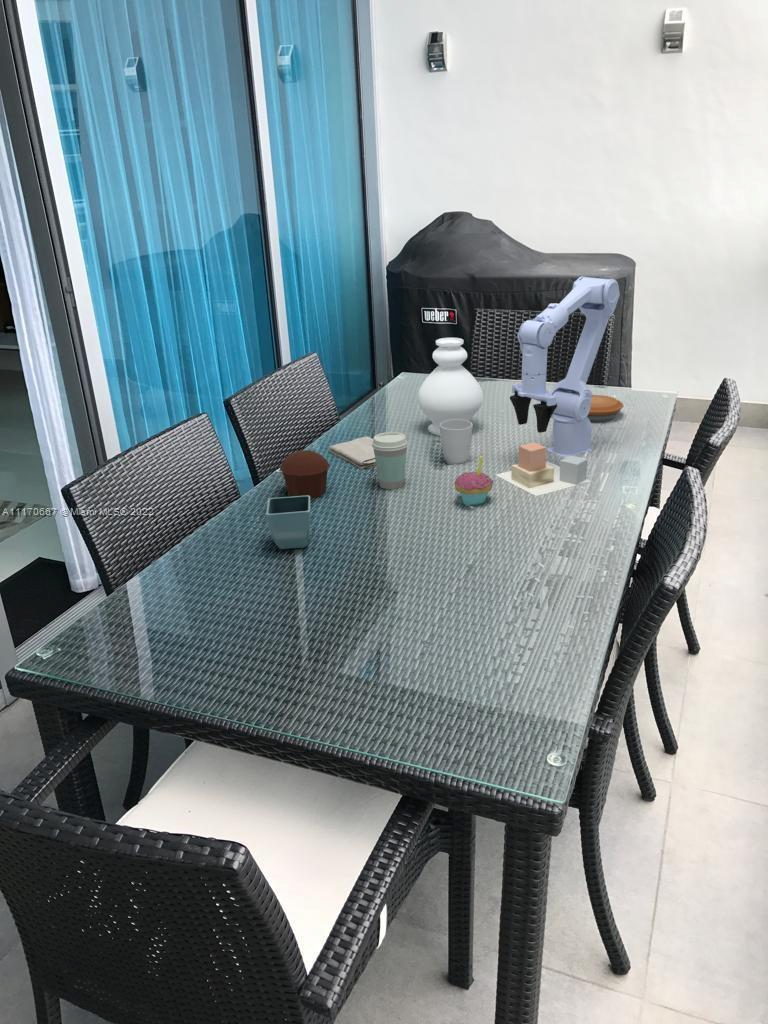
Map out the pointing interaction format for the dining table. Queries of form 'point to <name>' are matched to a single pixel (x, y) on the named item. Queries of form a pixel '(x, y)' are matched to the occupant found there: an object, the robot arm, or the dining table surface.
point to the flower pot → (289, 521)
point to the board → (546, 487)
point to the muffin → (305, 473)
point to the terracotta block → (532, 457)
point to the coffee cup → (390, 458)
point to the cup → (456, 440)
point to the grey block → (573, 469)
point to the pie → (603, 408)
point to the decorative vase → (449, 387)
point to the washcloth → (356, 452)
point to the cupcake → (474, 486)
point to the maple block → (532, 476)
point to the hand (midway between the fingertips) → (532, 427)
